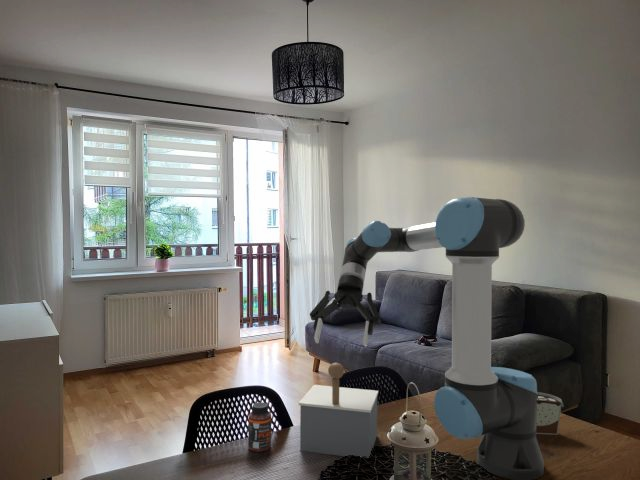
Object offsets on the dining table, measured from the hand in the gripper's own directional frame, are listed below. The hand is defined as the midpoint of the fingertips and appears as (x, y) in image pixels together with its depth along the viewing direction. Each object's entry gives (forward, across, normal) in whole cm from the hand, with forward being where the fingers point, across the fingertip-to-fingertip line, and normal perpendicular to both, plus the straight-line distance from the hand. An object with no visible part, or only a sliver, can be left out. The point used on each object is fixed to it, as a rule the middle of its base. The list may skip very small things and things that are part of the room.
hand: (340, 342), depth 127 cm
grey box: (+20, -1, -17) cm, 27 cm away
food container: (+4, -53, -34) cm, 64 cm away
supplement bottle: (+26, +19, -12) cm, 35 cm away
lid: (+12, -1, -9) cm, 15 cm away
